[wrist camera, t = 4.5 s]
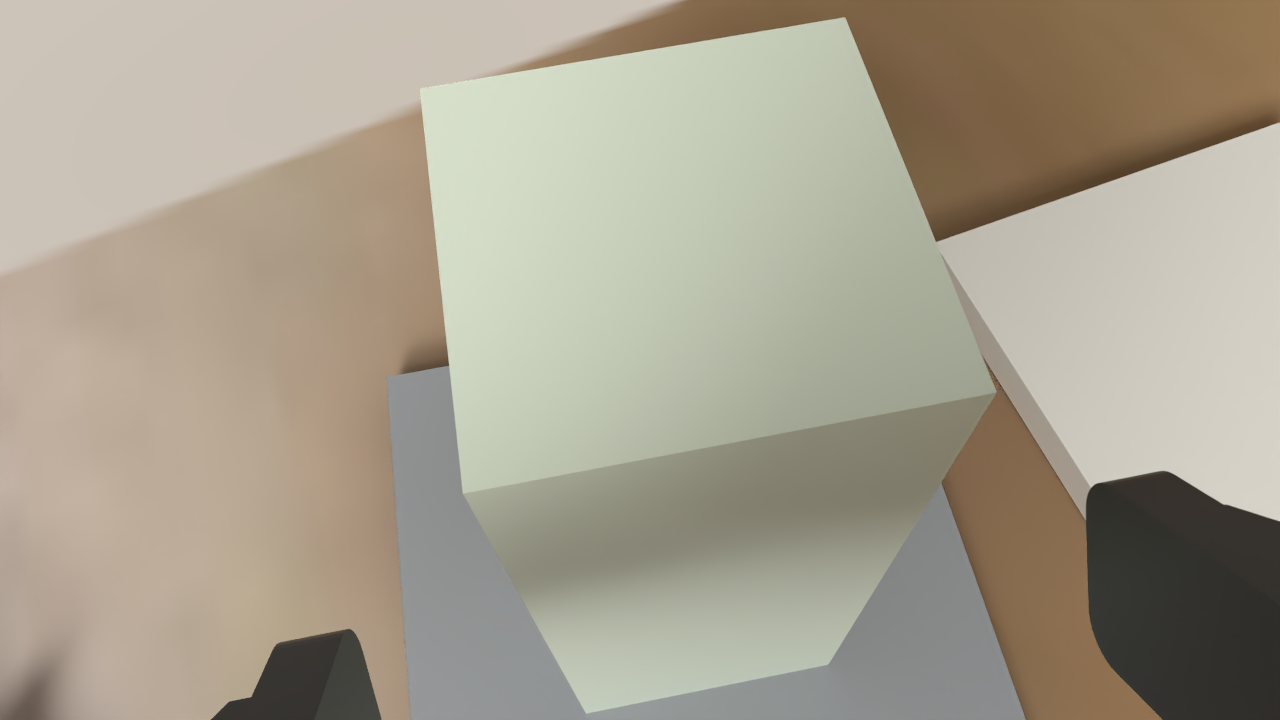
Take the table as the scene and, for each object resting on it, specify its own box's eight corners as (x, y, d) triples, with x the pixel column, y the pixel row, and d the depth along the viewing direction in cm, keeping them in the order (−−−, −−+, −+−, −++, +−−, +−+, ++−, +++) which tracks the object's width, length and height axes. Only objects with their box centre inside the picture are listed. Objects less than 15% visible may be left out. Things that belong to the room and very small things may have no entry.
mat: (1284, 139, 27) (1304, 114, 26) (1602, 489, 22) (1641, 472, 21) (926, 264, 26) (934, 243, 25) (1179, 670, 21) (1201, 660, 20)
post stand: (865, 309, 25) (913, 154, 20) (1043, 819, 19) (1175, 791, 14) (396, 395, 25) (318, 259, 19) (438, 947, 19) (343, 968, 14)
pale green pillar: (768, 442, 22) (844, 17, 12) (828, 664, 20) (996, 392, 9) (550, 484, 22) (420, 88, 11) (586, 713, 20) (462, 493, 9)
